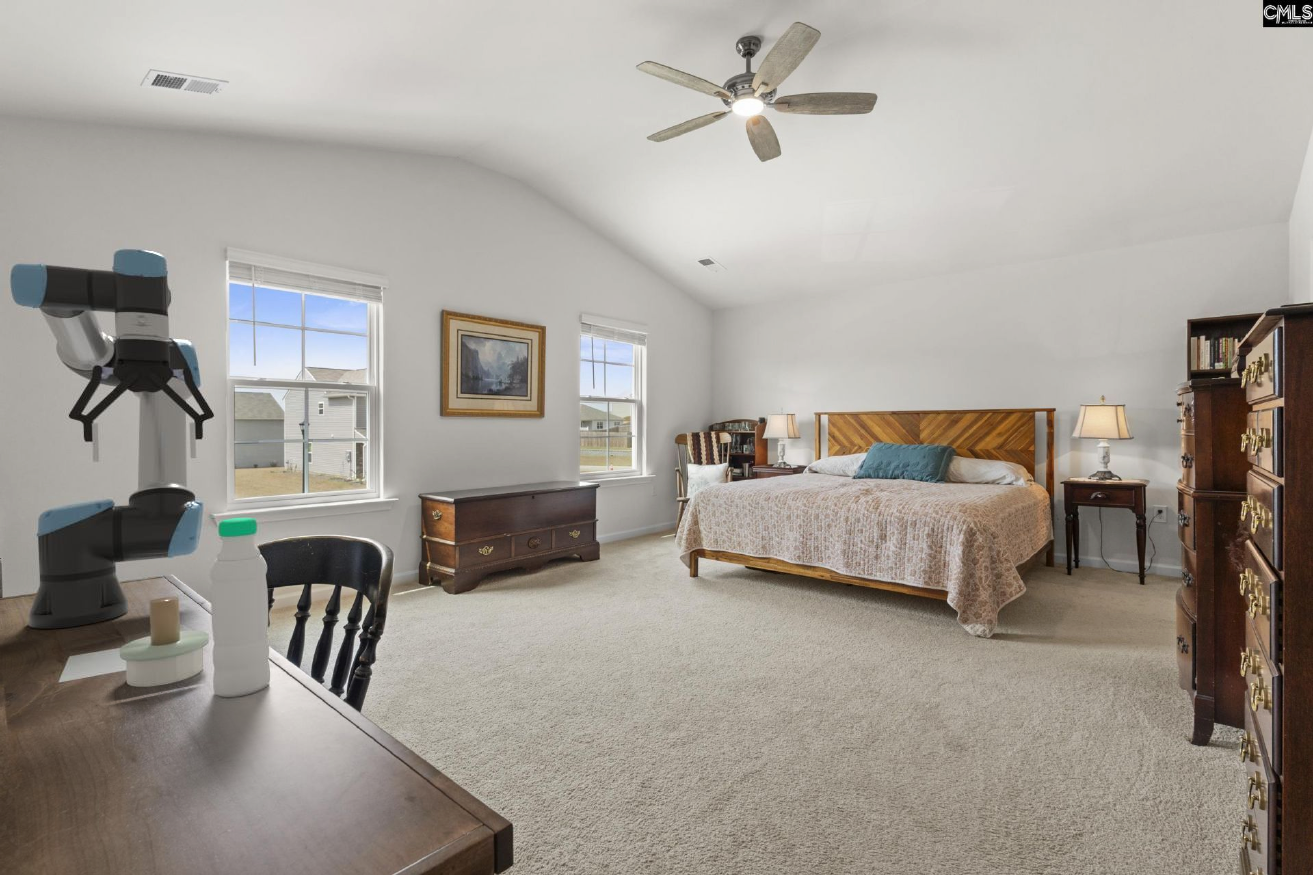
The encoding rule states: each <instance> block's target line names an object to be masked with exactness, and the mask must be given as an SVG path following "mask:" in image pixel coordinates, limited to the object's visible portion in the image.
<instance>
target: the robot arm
mask: <svg viewBox="0 0 1313 875" xmlns="http://www.w3.org/2000/svg"><path fill="white" fill-rule="evenodd" d="M112 265H113V266H112V270H107V269H106V270H105V269H104V270H103V269H92V268H83V267H82V268H81V267H72V266H61V265H51V264H50V265H49V264H44V263H16V264H14V265H13V266H12V268H11V271H10V278H9V279H10V281H9V282H10V292H11V295H12V296H11V297H12V299H13V301H14V303H16V304H17V305H18V306H21V307H29V308H33V309H39V310H40V312H41V315H42V316H43V317H44V320H45V321H46V323H47V325H48V327H49V328H50V331H51V333H52V334H53V336H54V338H55V340H56V348H55V351H56V353H57V355H58V358H59V359H60V361H61V362H62V364H64V365H65V367H67V368H68V369H69V370H70V371H71V372H74V373H75V374H76V375H79V376H80V377H82V378H85V379H86V380H89V382H88V383H87V385H86V387H85V388H84V389H83V391H82V393H81V394H80V396H79V397H78V399H77V401H76V402H75V404H74V405H73V407H72V409H71V410H70V412H69V413H68V417H69V419H71V420H75V421H78V422H81V423H82V425H83V426H82V427H83V440H84V442H86V443H89V442H90V443H92V461H93V463H95V462H101V447H100V446H101V444H100V442H101V440H100V423H98V422H97V423H95V422H94V421H95V420H96V419H98V417H100V415H101V414H102V413H104V412H105V411H106V410H107V409H108V408H109V407H110V406H111V405H112V404H113V403H115V401H116V400H117V399H118V398H120V397H121V396H122V395H123V394H124V393H125V392H126V391H129V392H132V393H133V395H134V396H136V397H137V398H138V399H139V416H138V417H139V418H138V419H139V420H138V421H139V422H138V423H139V424H138V471H137V475H138V477H137V479H138V480H137V489H136V491H134V492H133V493H131V494H130V495H129V498H128V504H126V505H117V506H116V505H115V504H116V503H115V501H114V500H113V499H109V498H108V499H98V500H91V501H90V500H89V501H84V502H78V503H72V504H68V505H63V506H62V505H61V506H57V507H53V508H49V509H46V510H44V511H43V512H41V513H40V515H39V516H38V523H37V533H36V537H37V542H38V544H37V545H38V547H37V548H38V566H39V587H38V589H37V591H36V595H35V597H34V600H33V602H32V605H31V607H30V610H29V613H28V626H29V627H30V628H32V629H38V630H39V629H40V630H41V629H46V630H47V629H48V630H49V629H63V628H64V629H65V628H71V627H79V626H85V625H90V624H95V623H99V622H104V621H107V620H111V619H115V618H118V617H119V616H122V615H125V614H126V613H127V612H128V611H129V602H128V598H127V595H126V594H125V591H124V589H123V587H122V586H121V582H120V581H119V578H118V576H117V567H116V563H124V562H134V561H135V562H136V561H144V560H145V561H146V560H154V559H155V560H156V559H166V558H168V559H173V558H174V557H180V556H189V555H191V554H193V553H194V552H195V551H197V549H198V546H199V543H200V539H201V533H202V532H201V531H202V524H203V514H204V502H203V501H201V500H198V499H196V494H195V493H194V491H192V490H190V488H188V482H187V481H188V475H187V474H188V473H187V472H188V470H187V415H188V416H189V417H190V418H191V419H192V420H193V422H189V444H190V446H189V448H190V449H189V450H190V452H189V453H190V454H189V455H190V459H196V458H197V448H196V445H197V444H196V440H203V437H204V428H203V425H204V424H203V423H204V421H207V420H210V419H213V418H214V417H215V414H214V412H213V410H212V409H211V407H210V406H209V403H207V401H206V399H205V397H204V396H203V394H202V393H201V391H200V390H199V388H200V387H201V383H202V382H201V375H200V369H199V362H198V357H197V351H196V347H195V345H194V344H193V343H192V342H191V341H190V340H188V339H180V338H178V339H177V338H176V339H175V338H173V337H170V328H169V327H170V324H169V323H170V321H169V313H168V312H169V307H170V306H171V303H172V292H171V290H170V287H169V284H168V273H169V271H168V267H167V266H168V265H167V259H166V257H165V256H164V255H162V254H160V253H159V252H158V253H157V252H155V251H149V250H143V249H133V248H123V249H119V250H116V251H115V252H114V254H113V264H112ZM96 312H104V313H105V312H106V313H114V324H115V326H114V328H115V335H107V334H106V333H105V332H103V330H102V327H101V325H100V323H99V320H98V318H97V315H96ZM100 385H105V386H110V387H114V389H113V390H112V391H110V393H108V394H107V395H106V396H105V397H104V398H103V399H102V400H101V401H100V402H98V404H97V405H96V406H94V407H93V408H92V409H91V410H90V411H89V412H88V413H87V414H83V412H84V411H85V409H86V408H87V406H88V405H89V403H90V401H91V399H92V398H93V396H94V395H95V393H96V392H97V390H98V388H99V386H100ZM190 397H193V398H194V400H195V402H196V403H197V404H198V406H199V408H200V410H201V411H202V413H201V414H199V413H198V412H197V411H196V410H195V409H194V408H193V407H192V406H191V405H190V404H189V403H188V402H187V401H186V400H188V399H189V398H190Z"/></svg>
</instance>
